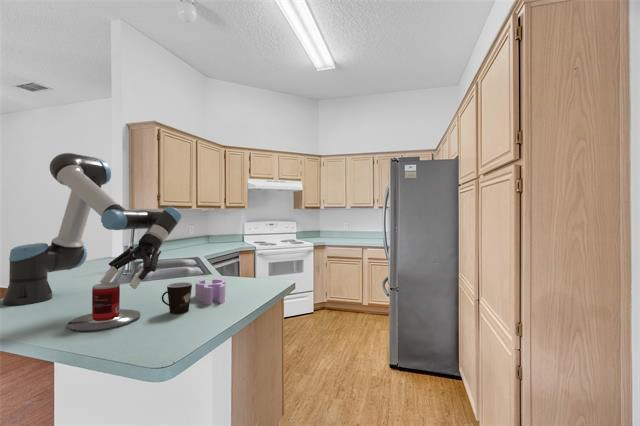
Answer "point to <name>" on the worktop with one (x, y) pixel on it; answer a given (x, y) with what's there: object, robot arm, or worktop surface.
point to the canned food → (105, 301)
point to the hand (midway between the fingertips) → (117, 285)
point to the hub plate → (103, 322)
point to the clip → (210, 291)
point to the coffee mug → (178, 297)
